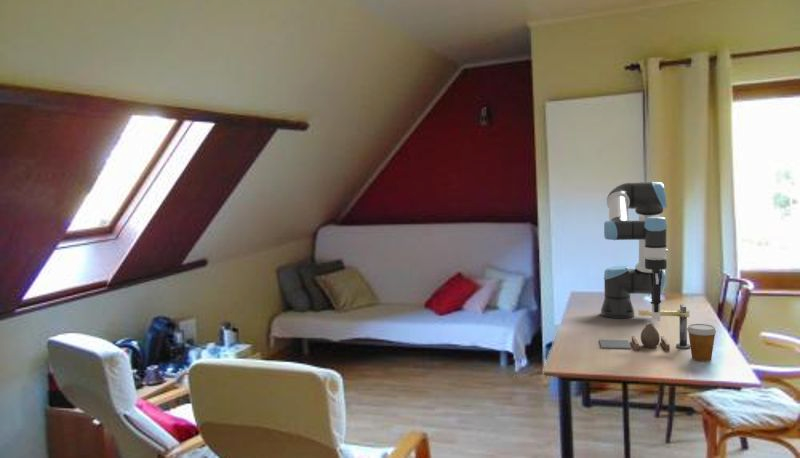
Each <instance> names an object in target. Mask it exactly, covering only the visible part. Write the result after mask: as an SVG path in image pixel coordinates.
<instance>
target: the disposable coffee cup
mask: <svg viewBox="0 0 800 458" xmlns="http://www.w3.org/2000/svg"><path fill="white" fill-rule="evenodd" d="M687 333H688V339H689V345H690V352H691V353H690V354H691V359H692V360H694V361H697V362H702V361H703V362H706V361H707V362H710V360H711V361H712V357H713V351H714V350H713V349H714V344H715V335H716V333H717V330H716V327H715V326H714V325H712V324H709V323H708V324H707V323H691V324H690V323H689V324H688V325H687Z"/></svg>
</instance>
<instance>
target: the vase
mask: <svg viewBox="0 0 800 458" xmlns="http://www.w3.org/2000/svg"><path fill="white" fill-rule="evenodd" d="M640 341H641V343H642V345H643V346H644V347H645V348H648V349H650V348H651V349H654V348H656V347H658V345H659V343H660V342H661V336H660V333H659V331H658V330H657V329H656V327H655V325H654V324H652V323H646V326H645V327H643V329H642V330H641V333H640Z"/></svg>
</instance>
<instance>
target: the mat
mask: <svg viewBox="0 0 800 458" xmlns="http://www.w3.org/2000/svg"><path fill="white" fill-rule="evenodd" d="M598 341H599V345H600V347H601V349H603V350H604V349H608V350H632V346H631V344H630V342H629V340H628V339H599V340H598Z"/></svg>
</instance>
